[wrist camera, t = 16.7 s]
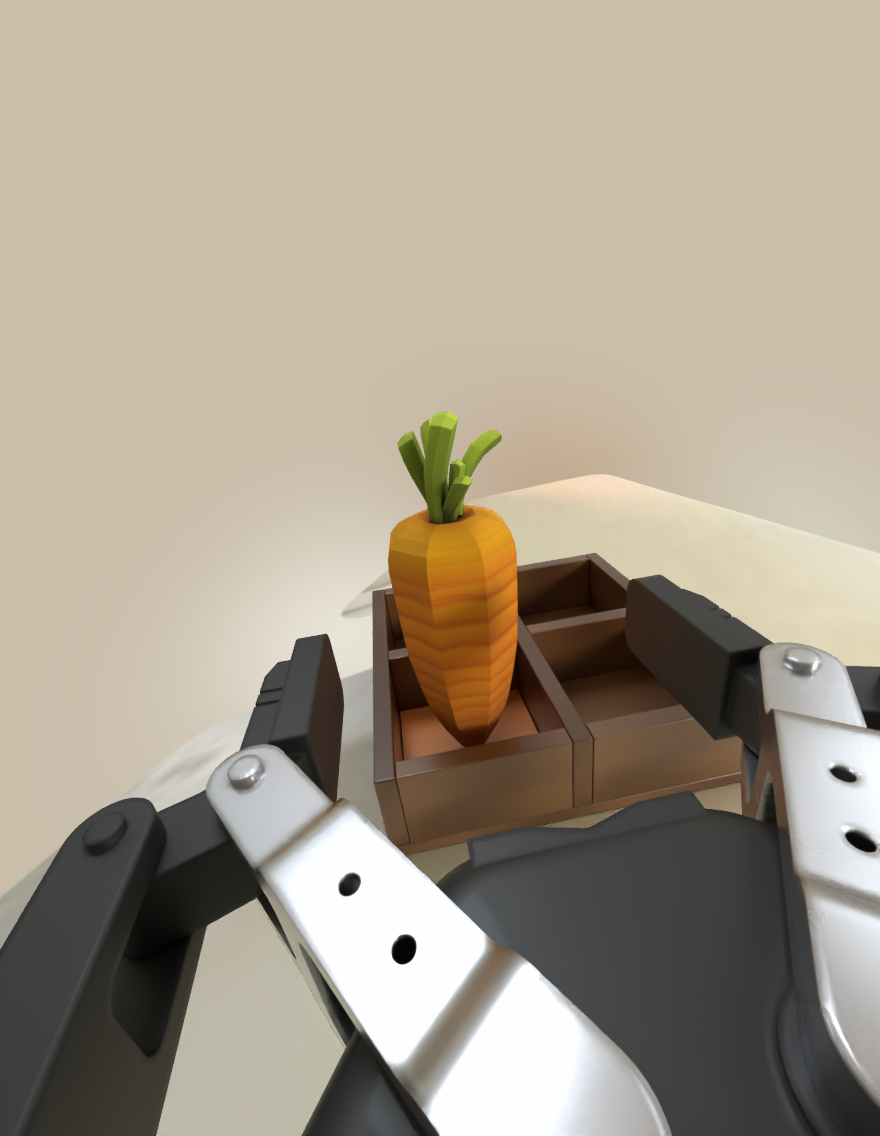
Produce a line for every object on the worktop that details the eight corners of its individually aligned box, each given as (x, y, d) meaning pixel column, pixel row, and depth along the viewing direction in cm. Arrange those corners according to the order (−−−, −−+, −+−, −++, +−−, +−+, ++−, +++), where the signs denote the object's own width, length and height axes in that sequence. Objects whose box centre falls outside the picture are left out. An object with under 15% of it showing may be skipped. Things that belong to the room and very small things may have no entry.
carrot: (440, 704, 24) (395, 407, 18) (535, 717, 22) (521, 394, 16) (404, 781, 20) (329, 427, 14) (518, 804, 18) (489, 413, 12)
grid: (392, 858, 18) (373, 783, 16) (382, 642, 32) (372, 590, 30) (761, 778, 19) (779, 700, 17) (594, 604, 33) (595, 552, 31)
